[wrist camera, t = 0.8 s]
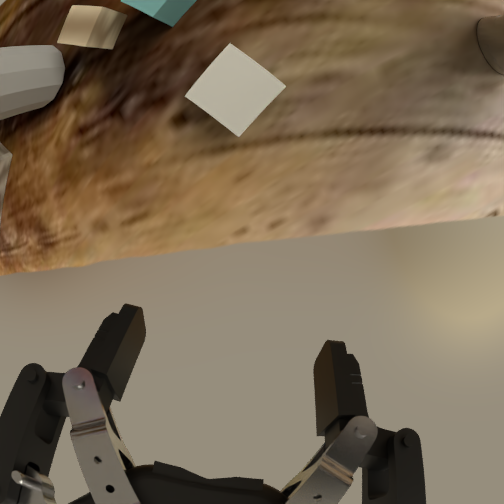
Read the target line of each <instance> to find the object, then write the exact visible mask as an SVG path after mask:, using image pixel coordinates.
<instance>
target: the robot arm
mask: <svg viewBox="0 0 504 504" xmlns="http://www.w3.org/2000/svg"><path fill="white" fill-rule="evenodd" d="M477 36H478V42H479V45H480V48H481V50H482V53H483V55H484V56H485V58H486V60H487V61H488V63H489V64H490V65H491V66H492V68H493V69H494V70H496V71H497V72H498V73H500V74H502V75H504V15H499V16H491V17H485V18H482V19H481V20H480V21H479V23H478V27H477ZM145 336H146V328H145V322H144V316H143V310H142V308H141V307H138V306H134V305H130V304H124V305H123V307H122V309H121V310H120V312H119V314H117V313H111V314H110V315H109V316H108V317H106V318H105V319H104V320H103V322H102V324H101V326H100V327H99V330H98V331H97V333H96V334H95V338H93V340H92V342H91V343H90V345H89V347H88V349H87V351H86V353H85V355H84V357H83V358H82V360H81V362H80V364H79V365H78V367H76V368H72V369H70V370H69V371H67V372H66V373H54V372H46V371H45V370H44V368H43V367H42V366H41V365H39V364H36V363H31V364H28V365H26V366H25V367H24V368H23V369H22V370H21V372H20V374H19V376H18V378H17V380H16V382H15V384H14V387H13V389H12V391H11V393H10V395H9V398H8V400H7V402H6V405H5V407H4V409H3V412H2V414H1V416H0V504H56V501H55V498H54V493H55V491H54V486H53V483H52V482H51V480H50V479H49V478H48V475H49V471H50V468H51V464H52V460H53V457H54V454H55V450H56V447H57V443H58V440H59V437H60V434H61V431H62V428H63V425H64V422H65V419H66V417H70V420H71V424H72V430H71V431H70V435H71V440H72V443H73V446H74V450H75V453H76V455H77V459H78V462H79V464H80V467H81V470H82V472H83V475H84V478H85V480H86V483H87V485H88V488H89V490H90V492H89V493H87V494H86V495H84V496H82V497H80V498H78V499H76V500H74V501H73V502H70V503H68V504H338V502H339V501H340V500H341V498H342V497H343V496H344V494H345V493H346V491H347V490H348V489H349V487H350V486H351V484H352V482H353V478H352V477H353V474H354V473H355V471H356V470H357V468H358V467H362V504H426V494H425V479H424V468H423V458H422V450H421V443H420V438H419V436H418V434H417V433H416V432H415V431H414V430H412V429H409V428H403V429H401V430H399V431H398V432H393V431H389V430H385V429H382V428H379V427H377V426H376V424H375V423H374V422H373V421H372V420H371V419H370V418H369V416H368V413H367V407H366V401H365V395H364V389H363V384H362V378H361V372H360V367H359V363H358V362H357V360H356V359H355V357H354V355H353V354H347V351H346V346H345V343H344V342H343V341H332V340H327V341H326V342H325V344H324V346H323V347H322V350H321V351H320V353H319V355H318V357H317V358H316V361H315V364H314V387H315V405H316V426H317V427H316V428H317V436H325V443H324V444H323V445H322V446H321V448H320V449H319V450H318V451H317V452H316V454H315V455H314V456H313V457H312V459H311V460H310V461H309V462H308V463H307V464H306V466H305V467H304V468H303V469H302V470H301V471H300V472H299V473H298V475H296V476H295V477H294V478H293V479H292V480H291V481H290V482H289V483H288V484H287V485H286V486H285V487H284V488H283V489H282V490H281V491H279V490H277V489H275V488H273V487H271V486H269V485H267V484H263V479H252V478H241V477H232V478H218V479H206V478H203V477H201V476H199V475H197V474H194V473H192V472H189V471H187V470H185V469H183V468H181V467H177V466H173V465H169V464H165V463H161V462H157V461H155V462H154V465H141V466H135V464H134V462H133V459H132V457H131V455H130V453H129V451H128V449H127V448H126V446H125V444H124V442H123V440H122V437H121V435H120V432H119V430H118V427H117V425H116V422H115V419H114V417H113V414H112V411H111V409H110V405H111V402H112V400H113V399H114V400H117V401H121V398H122V395H123V393H124V390H125V388H126V385H127V383H128V380H129V378H130V375H131V373H132V370H133V368H134V365H135V363H136V360H137V358H138V355H139V353H140V350H141V348H142V346H143V343H144V341H145Z"/></svg>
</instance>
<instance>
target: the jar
mask: <svg viewBox="0 0 504 504" xmlns="http://www.w3.org/2000/svg"><path fill="white" fill-rule="evenodd" d="M64 72H65V65H64V61H63V57H62V53H61V52H60V51H59V50H58V49H56V48H55V47H54V46H53V45H39V46H15V47H3V48H0V120H2V119H5V118H8V117H11V116H14V115H17V114H21V113H24V112H27V111H31V110H34V109H38V108H42V107H44V106H45V105H47V104H48V103H49V102H50V101H52V100H53V99H54V98H55V96H56V94H57V92H58V90H59V88H60V86H61V85H62V83H63V78H64Z"/></svg>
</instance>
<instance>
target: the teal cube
mask: <svg viewBox="0 0 504 504" xmlns="http://www.w3.org/2000/svg"><path fill="white" fill-rule="evenodd" d="M121 1H122V2H124V3H126V4H128V5H130V6H132V7H134V8H136V9H138V10H140V11H142V12H144V13H146V14H148V15H150V16H152V17H153V18H156V19H158V20H160V21H162V22H164V23H166V24H168V25H170V26H172V27H173V26H174V25H175V24H176V22H177V21H178V20H179V19H180V18H181V17H182V16H183V14H184V13H185V12H186V11H187V10H188V9H189V8H190V7H191V6H192V5H193V4H194V3H195V2H196V1H197V0H121Z"/></svg>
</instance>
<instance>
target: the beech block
mask: <svg viewBox="0 0 504 504" xmlns="http://www.w3.org/2000/svg"><path fill="white" fill-rule="evenodd" d="M126 17H127V15H125V14H123V13H120V12H117V11H114V10H111V9H108V8H105V7H98V6H80V5H72V7H71V9H70V12H69V14H68V16H67V19H66V21H65V23H64V26H63V28H62V31H61V34H60V36H59V39H58V42H57V43H63V44H71V45H78V46H84V47H95V48H104V49H113V47H114V44H115V42H116V39H117V37H118V35H119V33H120V30H121V28H122V26H123V24H124V22H125V19H126Z"/></svg>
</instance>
